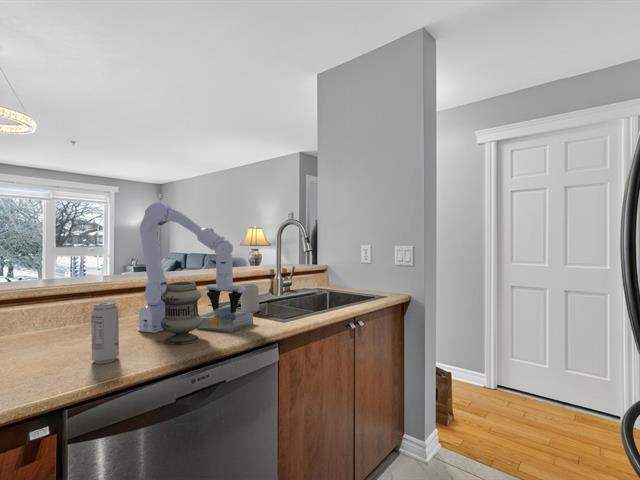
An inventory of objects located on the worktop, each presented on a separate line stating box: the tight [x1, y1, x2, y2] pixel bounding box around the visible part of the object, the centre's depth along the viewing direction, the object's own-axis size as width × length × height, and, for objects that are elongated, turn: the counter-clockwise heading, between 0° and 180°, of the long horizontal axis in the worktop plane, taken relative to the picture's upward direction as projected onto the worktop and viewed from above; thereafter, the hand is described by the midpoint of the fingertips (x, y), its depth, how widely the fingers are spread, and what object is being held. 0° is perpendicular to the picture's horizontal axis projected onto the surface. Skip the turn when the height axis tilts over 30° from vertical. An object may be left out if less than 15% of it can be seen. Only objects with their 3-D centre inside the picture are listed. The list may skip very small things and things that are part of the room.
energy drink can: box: [90, 301, 120, 365], centre depth 91 cm, size 6×6×15 cm
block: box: [215, 304, 235, 318], centre depth 125 cm, size 8×3×6 cm, turn 159°
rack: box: [197, 311, 254, 333], centre depth 125 cm, size 13×16×4 cm
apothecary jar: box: [161, 280, 202, 346], centre depth 108 cm, size 12×12×18 cm
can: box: [240, 283, 260, 314], centre depth 148 cm, size 8×8×12 cm
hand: (224, 311), depth 125 cm, fingers open, 7 cm apart
